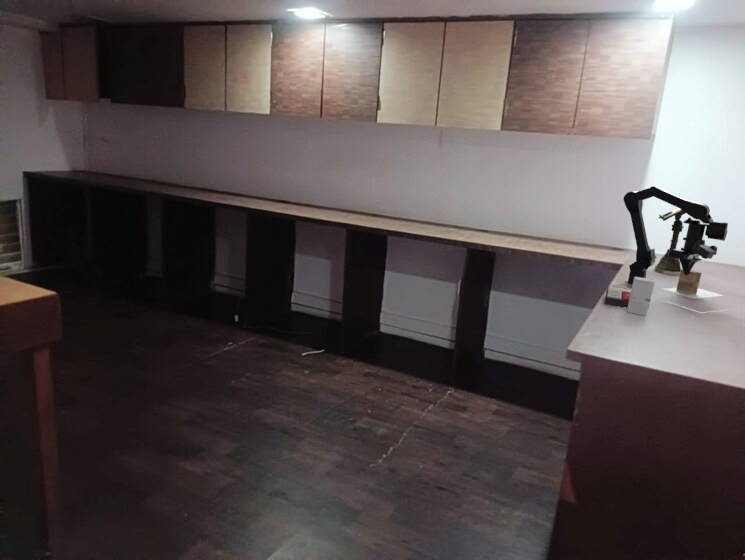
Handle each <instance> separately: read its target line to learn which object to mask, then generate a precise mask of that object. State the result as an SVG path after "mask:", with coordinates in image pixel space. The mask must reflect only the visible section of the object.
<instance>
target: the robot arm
mask: <svg viewBox="0 0 745 560" xmlns="http://www.w3.org/2000/svg"><path fill="white" fill-rule="evenodd" d="M653 197H654V198H656V199H659V200H660V201H663V202H665V203H667V204H669V205H671V206H673V207H676V208H680V209H682V210H683V211H684V212H686V213H685V214H687V215H688V216H690V217H687V219H685V220H684V221H682V224H688V225H687V226H688V227H687V231H686V235H685V237H683V238H682V240H683V241H684V244H683V247H680V249H679V248H676V249H671V250H670V251H669V255H668V256H671V257H675V258H678V259H679V261H680V266H681V267H682V268H681V269H683V272H684V274H685V275H688V274H689V272H690V271H691V270H693V267H694V265H695V264H696V263H698V262H700V261H702V258H703V259H704V260H707V259H711V260H712V258H713V257H714V256H716V255H717V252H718V246H716V245H710V246H709V245H707V244H706V240H705V239H704V234H705V236H706V237H707V239H711V240H716V241H726V238H727V234H728V225H729V223H728V222H726V221H725V222H724V221H723V222H721V221H714V220H713V217H712V216H711V214H710V211H711V210H710V207H709V205H707V204H705V203H701V202H698V201H693V200H690V199H686V198H684V197H681V196H678V195H676V194H674V193H671V192H670V191H668V190H665V189H663V188H661V187H659V186H658V185H657V186H656V185H655V186H650V187H648V188H644V189H643V190H639V191H637V190H636V191H629V192H626V194H625V195H623V203H624V204H625V208H626V209H627V211H628V213H629V214H630V219H631V224H632V228H633V235H634V238H635V243H636V251H635V252H636V253H635V261H633V262H632V263H631V264H629V266H628V267H629V275H628V280H627V281H625V280H624V283H627V284H631V285H633V281H634V277H640V278H646V279H647V272H648V269H649V268H650V267H652V266H654V264H655V263H656V259H657V256H656V253H655V251H656V250H655V248H652V249H651V247H650V245H649V241H648V236H647V233H646V227H645V222H644V217H643V205H644V204H643V202H644V201H645V200H648V199H650V198H653ZM689 200H690V201H689ZM701 222H702V223H701ZM700 257H701V258H700Z"/></svg>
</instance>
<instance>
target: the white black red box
mask: <svg viewBox="0 0 745 560" xmlns="http://www.w3.org/2000/svg"><path fill="white" fill-rule="evenodd" d="M631 290H632V289H628V288H622V287H615V286H607V287H606V292H605V298H604V305H607V306H613V307H617V306H620V307H619V308H623V307H626V308H625V309H627V308H628V303H629V299H630V294H631Z"/></svg>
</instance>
